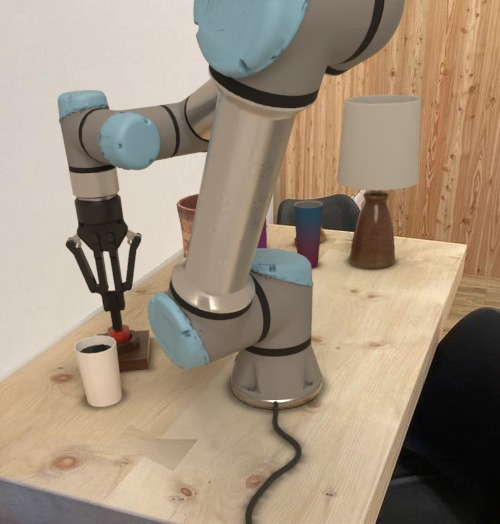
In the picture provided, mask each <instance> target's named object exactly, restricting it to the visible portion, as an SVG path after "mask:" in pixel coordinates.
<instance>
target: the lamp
mask: <svg viewBox="0 0 500 524" xmlns="http://www.w3.org/2000/svg"><path fill="white" fill-rule="evenodd" d="M421 107H422V98H421V97H419V96H416V95H408V94H407V95H406V94H368V95H359V96H352V97H347V98H345V99H344V104H343V114H342V122H341V123H342V124H341V136H340V143H339V144H340V145H339V155H338V166H337V177H336V182H337V184H338V185H339V186H342V187H345V188H348V189H354V190H360V191H365V192H364V193H363V195H362V196H363V198H364V204H363V205H362V207H361V209H360V212H359V214H358V216H357V219H356V222H355V226H354V230H353V234H352V235H353V237H352V239H351V245H350V251H349V263H351V265H353V266H354V267H357V268H361V269H366V270H379V269H385V268H388V267H390V266H391V267H392V266H393V264H394V263H395V260H396V253H395V250H396V248H395V247H396V245H395V236H394V235H395V233H394V225H393V218H392V215H391V211H390V209H389V205H388V203H387V200H388V198H389V197H390V194H389V192H387V191H394V190H402V189H407V188H411V187H413V186H416V185H417V184H418V183H419V170H420V169H419V166H420V141H421V140H420V136H421V132H420V131H421Z"/></svg>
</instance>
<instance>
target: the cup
mask: <svg viewBox="0 0 500 524" xmlns="http://www.w3.org/2000/svg"><path fill="white" fill-rule="evenodd" d="M293 208H294V223H295V224H294V225H295V237H296V244H295V245H296V253H298V254H300V255H302V256H304V257H306V258H307V259H308V260H309V262H310V263H311V267H312V269H315V268H317V267H318V266H319V257H320V256H319V255H320V244H321V242H320V233H321V227H322V222H323V221H322V220H323V219H322V218H323V208H324V203H323V202H322V201H319V200H312V199H311V200H310V199H309V200H300V201H297V202H294V204H293Z"/></svg>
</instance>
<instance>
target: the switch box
mask: <svg viewBox="0 0 500 524" xmlns="http://www.w3.org/2000/svg"><path fill="white" fill-rule="evenodd" d="M100 335H102V336H108V331H107V332H105V333H97V335H96V336H100ZM130 335H131V339H129V340H127V341H124V342H118V343H116V346H117V355H118V363H119V372H124V371H125V372H127V371H137V370H140V371H141V370H149V363H150V352H151V351H150V350H151V333H150V330H149V329H146V330H134V329H130Z"/></svg>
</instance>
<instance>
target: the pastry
mask: <svg viewBox="0 0 500 524" xmlns="http://www.w3.org/2000/svg"><path fill="white" fill-rule="evenodd" d="M327 238H328V237H327V234H326V232H325V230H324V228H323V227H322V226H321V233H320V243H323V242H324V241H325V240H326V239H327ZM294 245H297V244H296V236H295V238H294Z"/></svg>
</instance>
